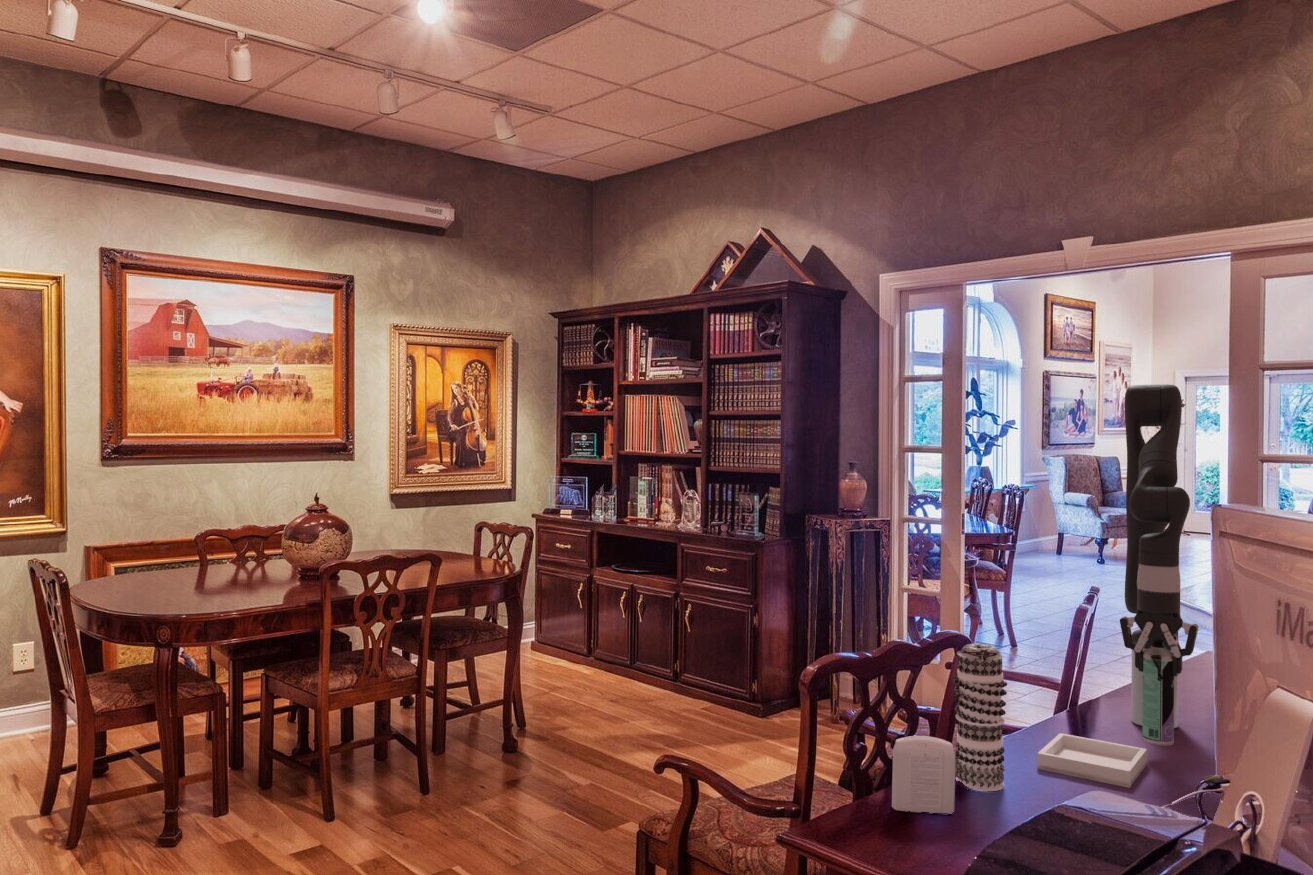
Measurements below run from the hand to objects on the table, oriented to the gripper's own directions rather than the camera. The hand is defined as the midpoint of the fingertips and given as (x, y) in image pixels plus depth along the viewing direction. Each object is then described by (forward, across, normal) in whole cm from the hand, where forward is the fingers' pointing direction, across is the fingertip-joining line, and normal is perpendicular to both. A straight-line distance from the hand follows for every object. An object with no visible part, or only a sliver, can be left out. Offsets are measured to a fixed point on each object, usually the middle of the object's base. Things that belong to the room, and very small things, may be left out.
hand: (1158, 672), depth 187 cm
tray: (+17, +9, +13) cm, 23 cm away
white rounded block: (+17, +26, +55) cm, 63 cm away
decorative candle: (+17, +23, +36) cm, 46 cm away
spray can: (+14, 0, 0) cm, 14 cm away
